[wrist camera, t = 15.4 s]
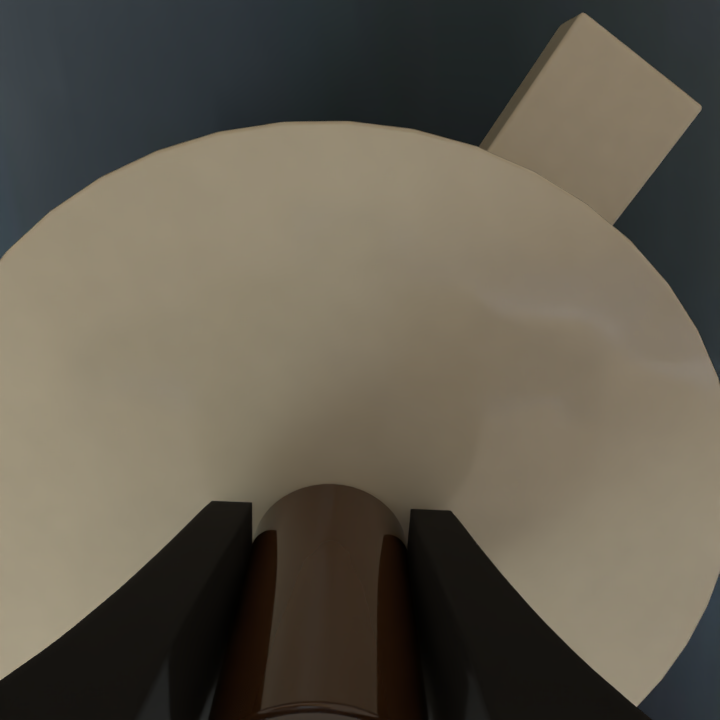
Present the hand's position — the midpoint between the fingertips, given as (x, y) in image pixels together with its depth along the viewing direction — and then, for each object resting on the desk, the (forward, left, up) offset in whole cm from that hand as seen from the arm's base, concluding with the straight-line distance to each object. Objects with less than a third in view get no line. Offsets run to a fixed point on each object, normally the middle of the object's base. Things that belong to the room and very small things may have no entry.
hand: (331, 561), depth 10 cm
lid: (0, 0, -1) cm, 1 cm away
